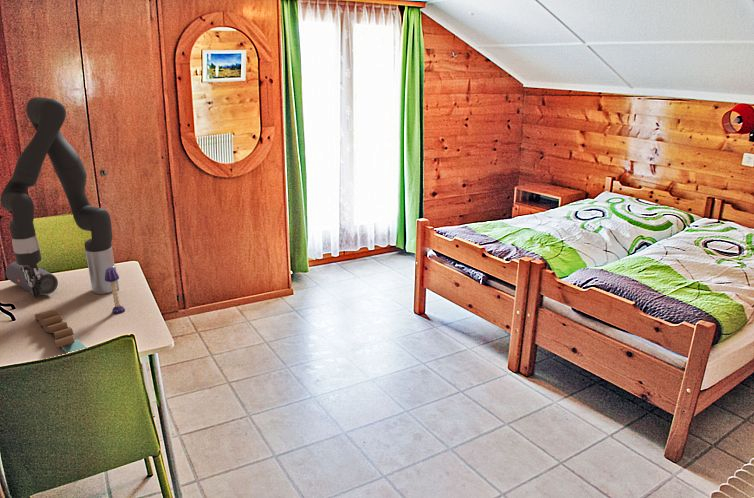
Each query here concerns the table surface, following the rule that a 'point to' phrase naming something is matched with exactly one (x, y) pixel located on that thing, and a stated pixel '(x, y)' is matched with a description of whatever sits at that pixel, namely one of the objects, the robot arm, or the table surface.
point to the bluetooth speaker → (18, 278)
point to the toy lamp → (114, 288)
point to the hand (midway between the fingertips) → (36, 295)
